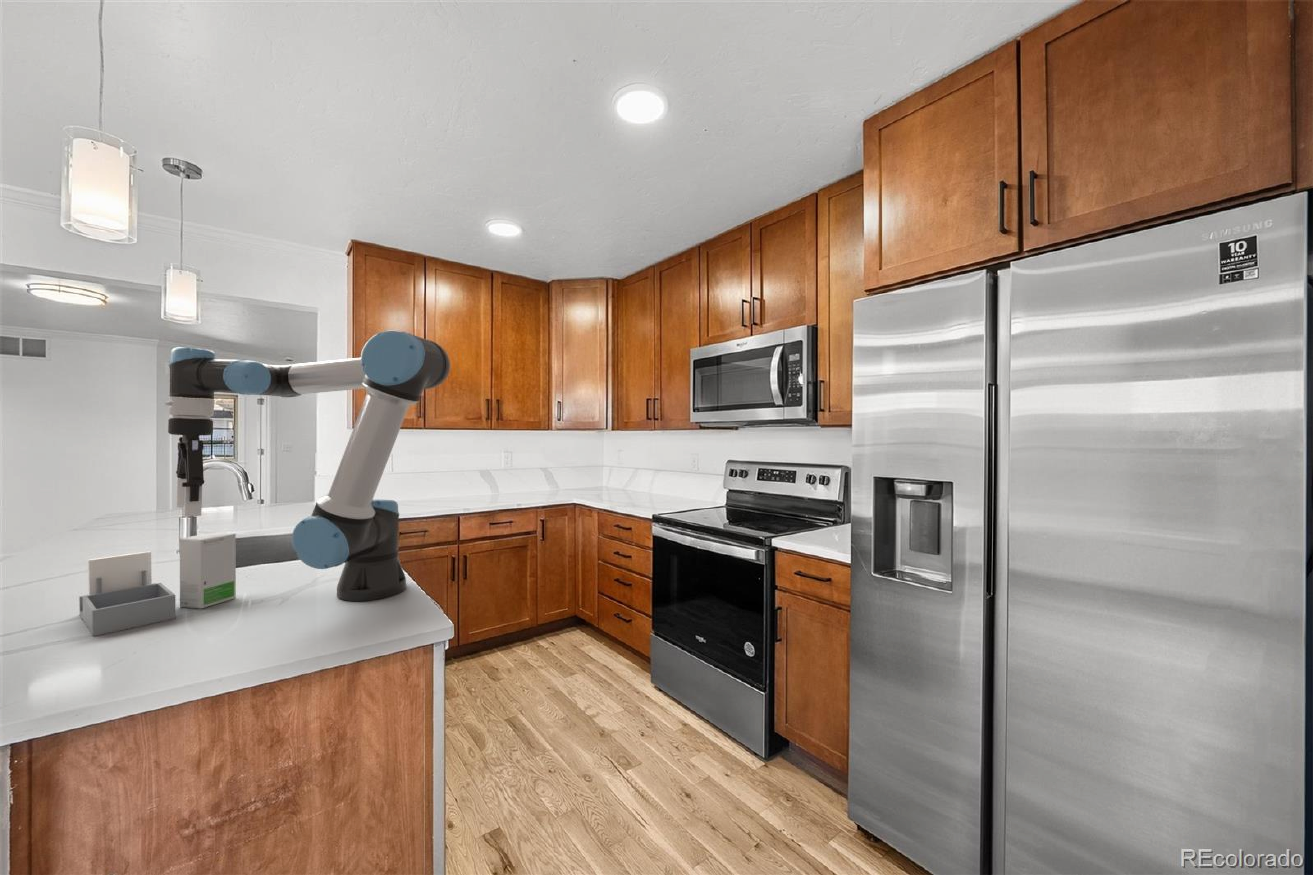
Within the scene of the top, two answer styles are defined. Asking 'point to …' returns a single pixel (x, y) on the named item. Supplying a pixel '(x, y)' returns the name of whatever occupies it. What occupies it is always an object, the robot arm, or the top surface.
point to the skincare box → (207, 569)
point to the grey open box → (124, 594)
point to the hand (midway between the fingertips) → (188, 511)
